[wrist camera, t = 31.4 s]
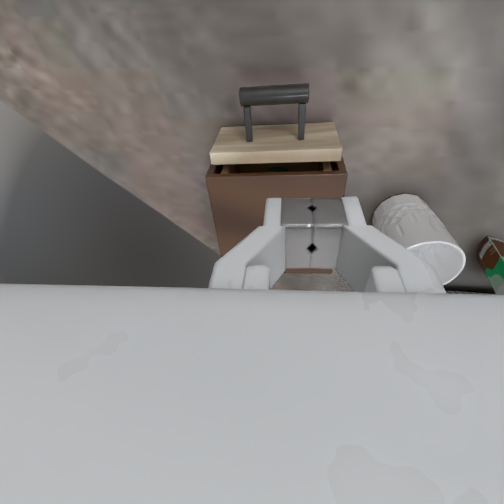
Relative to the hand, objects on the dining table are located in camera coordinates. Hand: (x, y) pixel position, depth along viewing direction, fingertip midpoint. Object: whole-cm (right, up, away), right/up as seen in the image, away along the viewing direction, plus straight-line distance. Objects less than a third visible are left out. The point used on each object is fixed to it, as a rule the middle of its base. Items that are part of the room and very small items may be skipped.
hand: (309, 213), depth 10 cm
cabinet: (+1, +7, +28) cm, 29 cm away
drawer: (+1, +10, +24) cm, 26 cm away
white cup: (+18, +4, +29) cm, 34 cm away
